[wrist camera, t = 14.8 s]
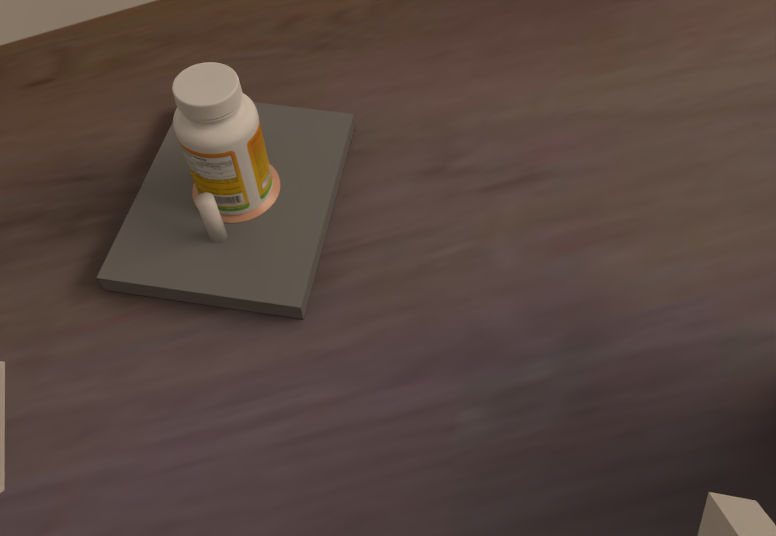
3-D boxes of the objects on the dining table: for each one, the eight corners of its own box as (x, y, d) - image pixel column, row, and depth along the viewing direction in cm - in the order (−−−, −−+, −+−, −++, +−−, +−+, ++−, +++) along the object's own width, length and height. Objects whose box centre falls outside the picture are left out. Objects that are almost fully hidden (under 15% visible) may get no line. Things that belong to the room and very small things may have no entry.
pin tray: (354, 128, 51) (351, 74, 47) (303, 319, 42) (293, 274, 37) (191, 108, 52) (172, 53, 48) (105, 290, 43) (70, 243, 38)
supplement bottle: (247, 150, 48) (219, 42, 40) (288, 192, 45) (267, 86, 37) (185, 184, 46) (143, 78, 38) (224, 229, 44) (188, 127, 35)
